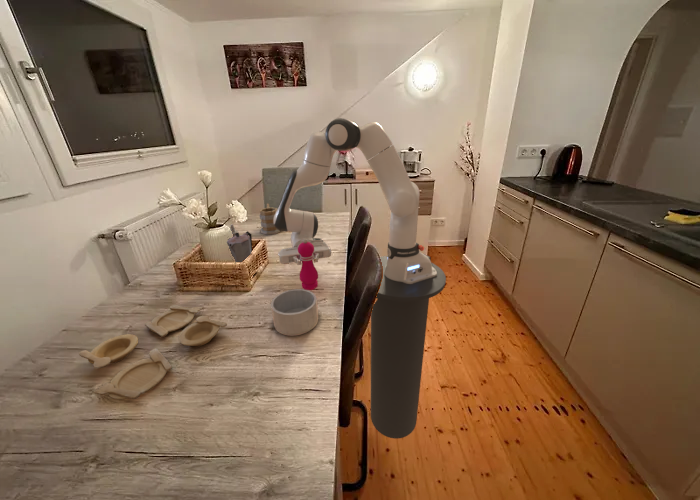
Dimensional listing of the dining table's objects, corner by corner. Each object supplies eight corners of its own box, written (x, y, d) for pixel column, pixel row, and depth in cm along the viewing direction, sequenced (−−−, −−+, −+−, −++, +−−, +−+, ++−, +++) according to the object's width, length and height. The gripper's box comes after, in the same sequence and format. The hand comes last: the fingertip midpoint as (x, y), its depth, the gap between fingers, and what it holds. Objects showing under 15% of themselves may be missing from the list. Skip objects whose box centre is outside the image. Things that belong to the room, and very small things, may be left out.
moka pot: (228, 281, 120) (217, 237, 112) (246, 265, 134) (238, 225, 126) (248, 282, 118) (239, 238, 110) (264, 266, 132) (258, 226, 124)
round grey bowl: (314, 304, 102) (312, 286, 99) (321, 330, 89) (319, 309, 86) (273, 312, 99) (270, 293, 96) (274, 339, 86) (271, 318, 83)
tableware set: (183, 304, 105) (181, 295, 103) (239, 326, 92) (237, 316, 91) (63, 371, 77) (57, 360, 75) (120, 416, 64) (113, 404, 62)
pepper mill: (322, 284, 111) (318, 237, 103) (311, 292, 105) (305, 243, 97) (309, 279, 114) (304, 233, 106) (296, 287, 109) (290, 240, 101)
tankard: (282, 233, 174) (278, 209, 167) (260, 235, 171) (256, 211, 165) (281, 223, 191) (278, 201, 185) (262, 225, 189) (259, 203, 183)
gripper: (276, 244, 113) (278, 258, 101) (326, 237, 118) (333, 250, 106) (278, 258, 116) (280, 273, 103) (327, 251, 120) (334, 265, 108)
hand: (307, 261), depth 105 cm, fingers closed on pepper mill, 5 cm apart
